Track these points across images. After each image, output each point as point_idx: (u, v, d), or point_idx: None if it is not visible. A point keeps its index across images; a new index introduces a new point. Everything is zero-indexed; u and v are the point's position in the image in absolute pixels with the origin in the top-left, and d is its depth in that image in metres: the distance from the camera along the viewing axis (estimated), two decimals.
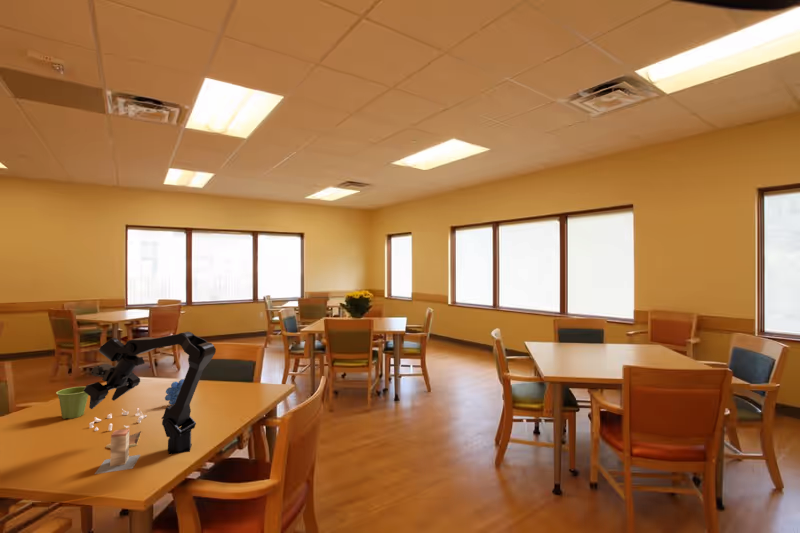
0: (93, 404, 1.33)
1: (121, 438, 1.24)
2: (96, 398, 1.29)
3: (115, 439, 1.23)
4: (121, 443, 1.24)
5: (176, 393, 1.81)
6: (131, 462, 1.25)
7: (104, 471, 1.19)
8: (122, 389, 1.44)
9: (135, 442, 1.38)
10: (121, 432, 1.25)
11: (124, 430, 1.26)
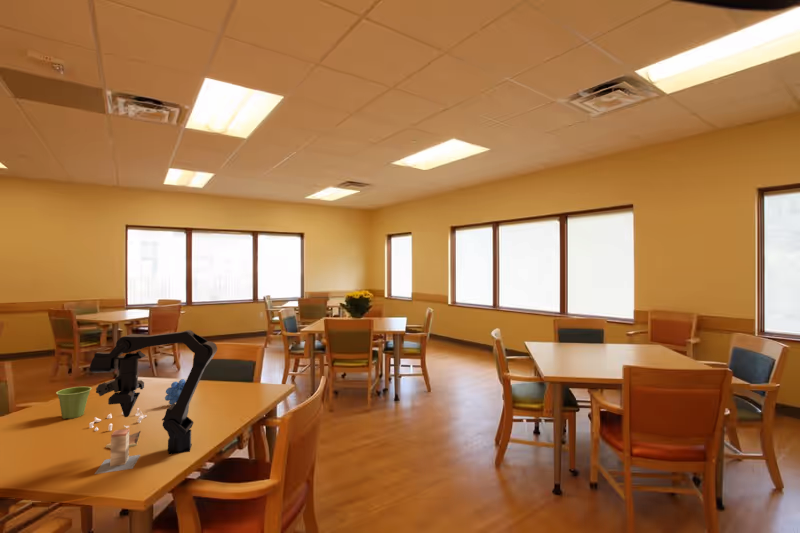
0: (128, 410, 1.31)
1: (121, 438, 1.24)
2: (129, 400, 1.25)
3: (115, 439, 1.23)
4: (121, 443, 1.24)
5: (176, 393, 1.81)
6: (131, 462, 1.25)
7: (104, 471, 1.19)
8: None
9: (135, 442, 1.38)
10: (121, 432, 1.25)
11: (124, 430, 1.26)
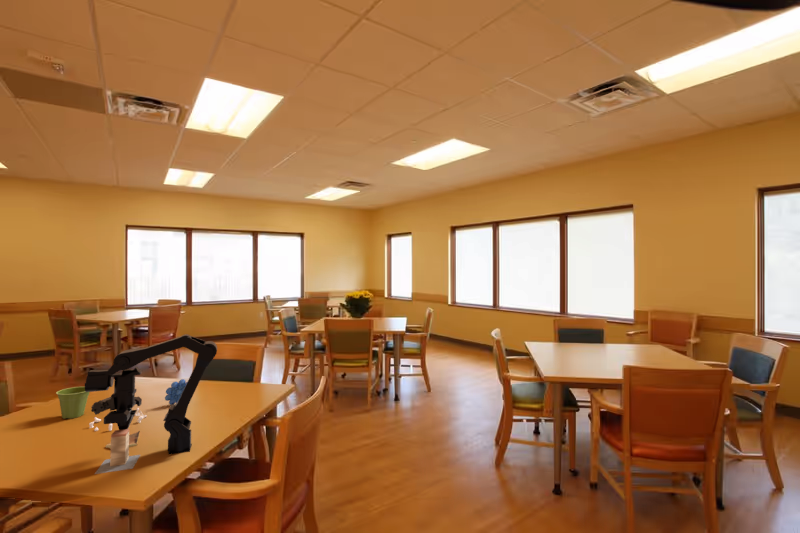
0: (124, 428, 1.28)
1: (121, 438, 1.24)
2: (125, 420, 1.21)
3: (115, 439, 1.23)
4: (121, 443, 1.24)
5: (176, 393, 1.81)
6: (131, 462, 1.25)
7: (104, 471, 1.19)
8: None
9: (135, 442, 1.39)
10: (121, 432, 1.25)
11: (124, 430, 1.26)
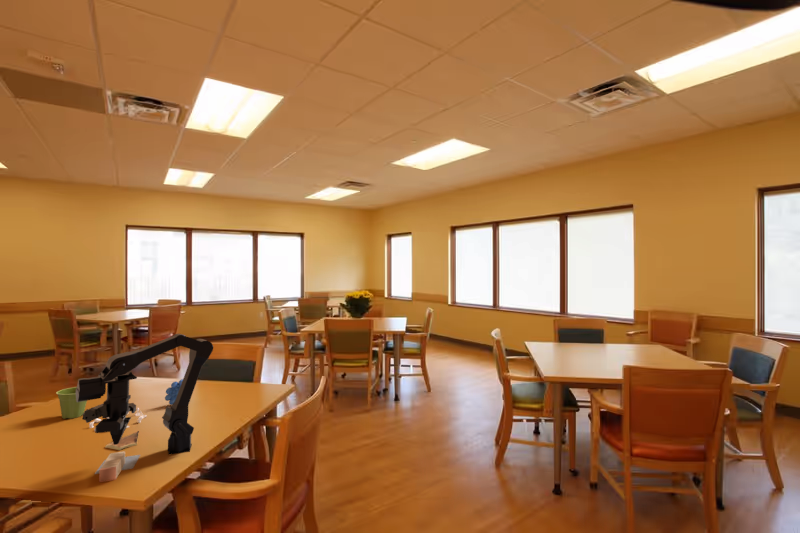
0: (118, 437, 1.21)
1: None
2: (118, 428, 1.14)
3: None
4: None
5: (176, 393, 1.81)
6: (131, 462, 1.25)
7: None
8: None
9: (135, 441, 1.39)
10: (109, 477, 1.14)
11: (111, 472, 1.14)
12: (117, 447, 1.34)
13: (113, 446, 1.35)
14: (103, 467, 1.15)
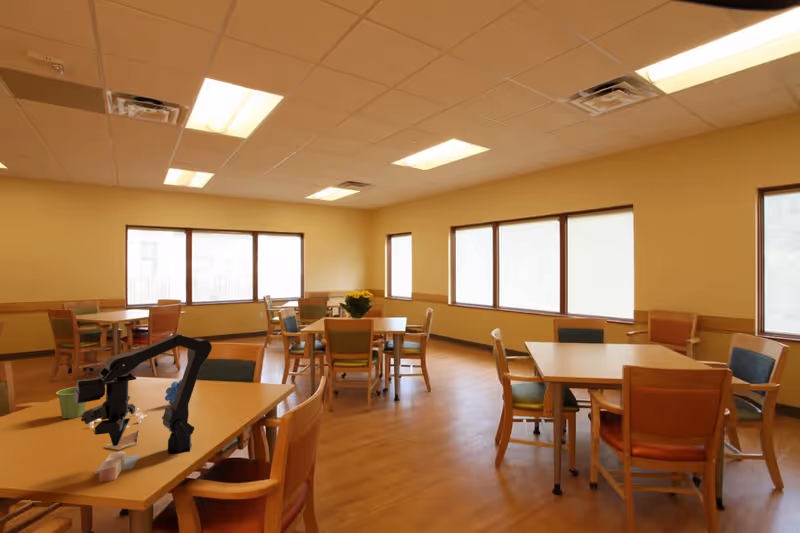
0: (117, 438, 1.20)
1: None
2: (118, 430, 1.14)
3: None
4: None
5: (176, 393, 1.81)
6: (131, 462, 1.25)
7: None
8: None
9: (135, 441, 1.39)
10: (109, 477, 1.14)
11: (111, 472, 1.14)
12: (117, 447, 1.34)
13: (113, 446, 1.35)
14: (103, 467, 1.15)
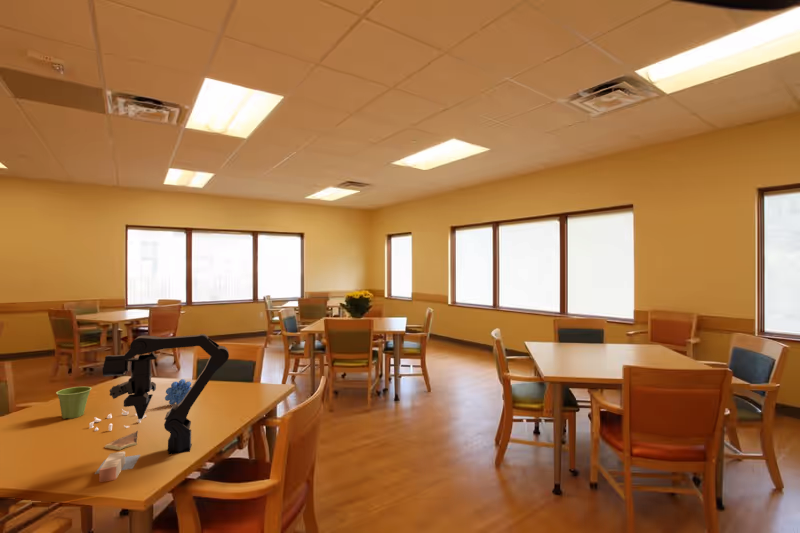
0: (142, 412, 1.30)
1: None
2: (145, 402, 1.23)
3: None
4: None
5: (176, 393, 1.81)
6: (131, 462, 1.25)
7: None
8: None
9: (135, 441, 1.39)
10: (109, 477, 1.14)
11: (111, 472, 1.14)
12: (117, 447, 1.34)
13: (113, 446, 1.35)
14: (103, 467, 1.15)
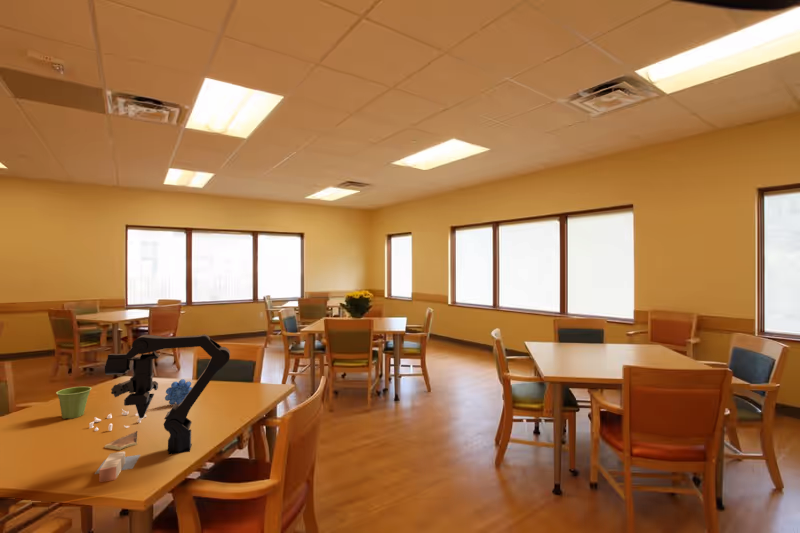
0: (143, 411, 1.30)
1: None
2: (145, 402, 1.24)
3: None
4: None
5: (176, 393, 1.81)
6: (131, 462, 1.25)
7: None
8: None
9: (134, 441, 1.39)
10: (109, 477, 1.14)
11: (111, 472, 1.14)
12: (117, 447, 1.34)
13: (113, 446, 1.35)
14: (103, 467, 1.15)
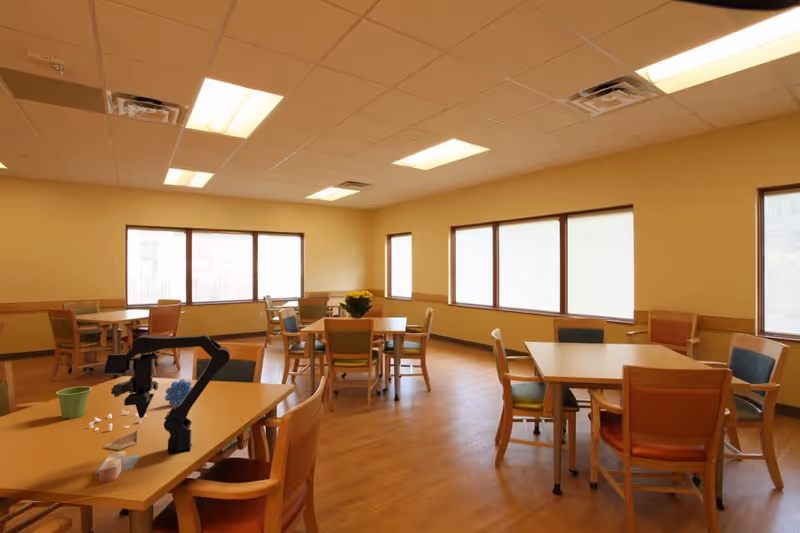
0: (143, 411, 1.30)
1: None
2: (145, 402, 1.24)
3: None
4: None
5: (176, 393, 1.81)
6: (131, 462, 1.25)
7: None
8: None
9: (134, 441, 1.39)
10: (109, 477, 1.14)
11: (111, 472, 1.14)
12: (117, 447, 1.34)
13: (113, 446, 1.35)
14: (103, 467, 1.15)
